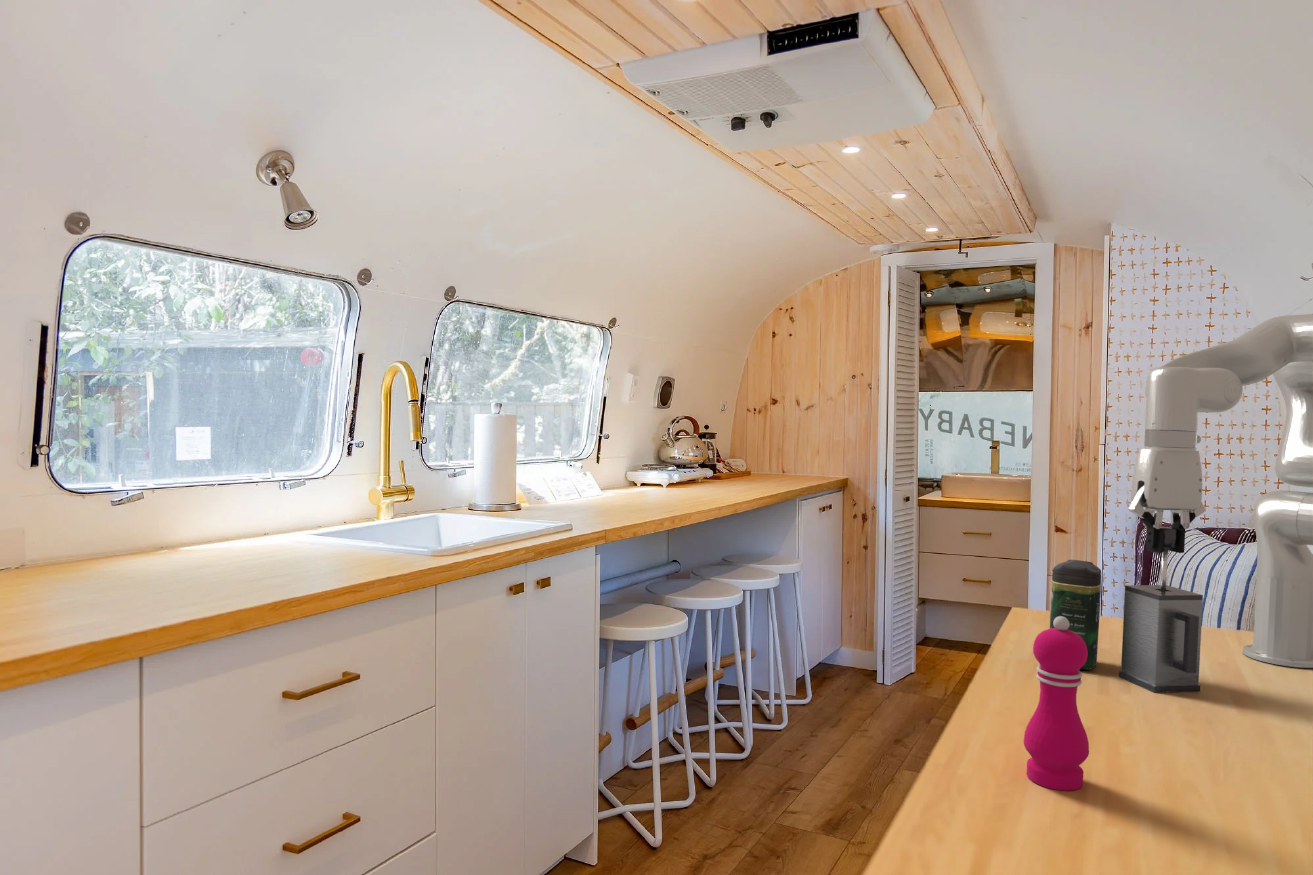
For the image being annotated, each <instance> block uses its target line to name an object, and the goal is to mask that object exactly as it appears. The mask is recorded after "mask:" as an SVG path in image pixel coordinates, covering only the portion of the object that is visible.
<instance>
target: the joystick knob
mask: <svg viewBox="0 0 1313 875" xmlns="http://www.w3.org/2000/svg"><path fill="white" fill-rule="evenodd" d="M1170 527H1171V526H1161V528H1160V529H1164V548H1163V552H1162V553H1161V569H1160V570H1161V572H1160V585H1161V587H1160V591H1166V585H1167V578H1168V576H1167V574H1168V558H1169V557H1168V555H1169V553H1168V552H1169V550H1168V547H1170V548H1175V547H1176V545H1177V529H1176V528H1170Z"/></svg>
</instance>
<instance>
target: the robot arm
mask: <svg viewBox="0 0 1313 875" xmlns="http://www.w3.org/2000/svg"><path fill="white" fill-rule="evenodd" d="M1271 375H1272V376H1273V378H1274V380H1275V382H1276V384H1277V386H1278V388H1279V391H1280V392H1281V396H1282V398H1283V401H1284V403H1285V409H1286V415H1285V420H1284V425H1283V430H1282V434H1281V438H1280V442H1279V445H1278V451H1277V455H1276V460H1275V466H1274V467H1275V468H1274V470H1275V474H1276V477H1277V478H1278V479H1279V481H1281V482H1283V483H1284V484H1288V485H1291V486H1294V487H1295V486H1296V487H1302V488H1303V487H1304V488H1313V313H1306V314H1295V315H1294V314H1293V315H1292V314H1291V315H1281V316H1276V317H1271V318H1269V319H1267V320H1264V321H1263V322H1261V323H1259V324H1258V325H1256V326H1254V327H1253V328H1251V329H1250V330H1248V331H1246V332H1244V333H1243V334H1241V335H1239V336H1238V337H1236V338H1235V339H1233V340H1230V341H1227V342H1223V343H1219V344H1215V345H1213V346H1210V347H1206V348H1203V349H1200V350H1196V351H1194V352H1190V353H1187V354H1184V355H1182V356H1179V357H1176V358H1174V359H1172V360H1170V361H1168V362H1167V363H1165V364H1163V365H1162V366H1159V367H1154V368H1152V369H1150V370H1149V372H1148V374H1147V379H1146V380H1147V381H1146V385H1145V388H1144V389H1145V391H1144V392H1145V398H1146V400H1145V401H1146V402H1145V418H1144V420H1145V421H1144V422H1145V423H1144V443H1143V448H1139V450H1138V453H1137V457H1136V459H1135V464H1134V469H1133V474H1132V479H1131V480H1132V481H1131V491H1130V502H1131V503H1130V506H1129V507H1128V510H1129V512H1131V513H1132V514H1133V515H1135V516H1137V517H1138V518H1139V519H1140V520H1141V521H1142V525H1143V526H1144V528H1146V538H1145V539H1146V540H1145V549H1146V551H1147V552H1153V553H1157V554H1162V552H1163V548H1164V529H1160V528H1161V527H1162V524H1163V523H1162V522H1163V519H1164V518H1163V516H1164V511H1169V512H1170V524H1171V526H1169V527H1170V528H1176V529H1177V545H1176V547H1175V548H1170V547H1168V552H1173V553H1178V554H1185V542H1186V530H1188V529H1189V528H1190V526H1191V523H1192V522H1193V521H1194V520H1195V519H1196V518H1197V517H1199V516H1200V515H1202V514H1204V513H1205V512H1206V511H1205V510H1206V509H1205V507H1204V504H1203V502H1202V500H1203V470H1202V462H1201V461H1202V460H1201V456H1200V452H1199V450H1197V444H1199V443H1201V441H1202V438H1201V435H1198V427H1199V426H1198V425H1199V424H1198V422H1199V413H1222V412H1226V411H1229V410H1232V409H1233V408H1234V407H1235V406H1236V405H1237V404H1239V402H1240V401H1241V399H1242V396H1243V387H1245V386H1249V385H1254V384H1257V383H1259V382H1263V381H1264V380H1266V379H1267V378H1268V377H1270V376H1271ZM1144 508H1145V509H1144ZM1252 510H1253V511H1252V512H1253V514H1252V515H1253V517H1252V518H1253V519H1252V520H1253V523H1254V524H1253V525H1254V530H1255V536H1256V552H1257V553H1256V556H1257V557H1256V558H1257V560H1256V578H1255V579H1256V581H1255V599H1254V600H1255V601H1254V619H1253V638H1252V643H1251V644H1247V645H1244V646H1243V647H1242V653H1243V654H1244V655H1245V656H1247V657H1249V658H1251V659H1253V660H1257V661H1260V662H1262V663H1263V662H1264V663H1268V664H1272V665H1277V666H1278V665H1279V666H1284V667H1290V668H1291V667H1292V668H1299V669H1300V668H1301V669H1302V668H1303V669H1313V553H1312V551H1311V550H1310V548H1309V546H1313V492H1306V491H1297V490H1273V491H1269V492H1266V493H1264V494H1262V495H1261V496H1259V497H1258V499H1257V500H1256V501H1255V502H1254V506H1253V509H1252Z"/></svg>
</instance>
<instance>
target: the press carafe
mask: <svg viewBox="0 0 1313 875" xmlns="http://www.w3.org/2000/svg"><path fill="white" fill-rule="evenodd" d="M1160 587H1161V584H1159V585H1155V584H1154V585H1153V584H1152V585H1151V584H1148V585H1145V584H1144V585H1143V584H1141V585H1140V584H1138V585H1136V584H1135V585H1134V584H1133V585H1132V584H1131V585H1125V584H1124V598H1123V599H1124V600H1123V601H1124V602H1123V623H1122V645H1121V662H1120V664H1121V666H1120V670H1118V677H1119V678H1121V679H1123V680H1125V681H1128V682H1130V683H1132V684H1134V685H1136V686H1139V687H1141V688H1142V689H1145V690H1148V691H1150V692H1152V693H1155V694H1157V693H1189V692H1192V693H1194V692H1201V684H1200V683H1199V681H1200V663H1201V662H1200V661H1201V660H1200V659H1201V642H1202V641H1201V640H1202V623H1203V621H1202V619H1203V603H1204V602H1203V600H1204V595H1203V594H1200V593H1196V592H1193V591H1189V590H1186V589H1182V588H1178V587H1176V586H1175V587H1174V586H1171V585H1167V584H1166V591H1160Z"/></svg>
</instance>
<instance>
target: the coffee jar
mask: <svg viewBox="0 0 1313 875" xmlns="http://www.w3.org/2000/svg"><path fill="white" fill-rule="evenodd" d="M1051 575H1052V576H1051V580H1052V581H1051V597H1050V612H1049V614H1050V615H1049V618H1050V619H1049V629H1051V628H1055V627H1054V625H1053V621H1054V619H1055V618H1056V617H1059V616H1062V617H1065V618H1066V619H1067V620H1068V621H1069V628H1068V629H1067V630H1070V631H1072V632H1074V633H1076V634H1078V635H1079V636H1080V637H1081V638H1082V639H1083V640H1084V642H1085V644H1086V646H1087V651H1088V656H1087V661H1086V663H1085V664H1084V665H1083V666H1082V667H1081V668H1080V669H1079V670H1085V671H1086V670H1087V671H1088V670H1092V669H1093V668H1094V667H1095V666H1096V664H1097V662H1098V650H1099V649H1098V648H1099V647H1098V645H1099V630H1100V618H1101V617H1100V615H1101V614H1100V611H1101V594H1102V593H1101V592H1102V591H1101V590H1102V569H1101V568H1099V567H1098V566H1097V565H1095V564H1094V563H1093V562H1091V561H1087V560H1079V559H1067V560H1066V561H1064V562H1061V563H1058V564H1056V565H1054V567H1053V569H1052V574H1051Z"/></svg>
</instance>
